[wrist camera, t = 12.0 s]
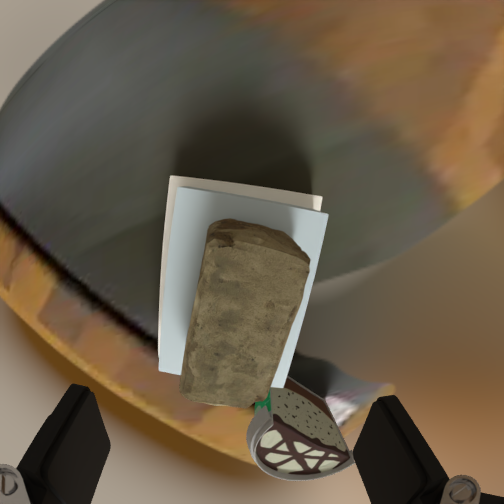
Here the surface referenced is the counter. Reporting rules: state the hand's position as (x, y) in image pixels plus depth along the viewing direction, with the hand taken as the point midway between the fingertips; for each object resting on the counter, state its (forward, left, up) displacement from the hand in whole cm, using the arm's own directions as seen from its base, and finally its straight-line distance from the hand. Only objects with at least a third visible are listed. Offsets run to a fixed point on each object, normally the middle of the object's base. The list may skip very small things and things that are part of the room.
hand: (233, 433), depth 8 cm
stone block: (0, 0, -13) cm, 13 cm away
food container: (+15, +6, -20) cm, 26 cm away
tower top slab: (0, 0, -16) cm, 16 cm away
